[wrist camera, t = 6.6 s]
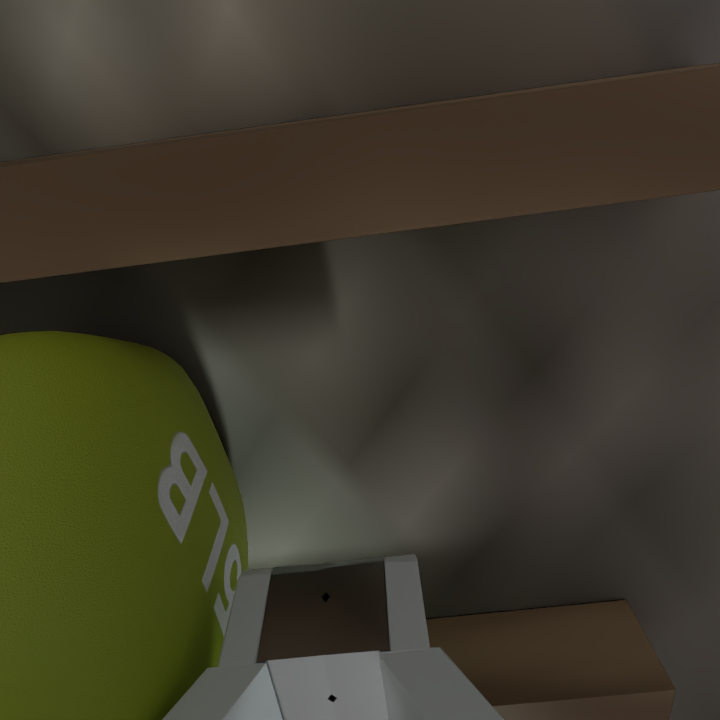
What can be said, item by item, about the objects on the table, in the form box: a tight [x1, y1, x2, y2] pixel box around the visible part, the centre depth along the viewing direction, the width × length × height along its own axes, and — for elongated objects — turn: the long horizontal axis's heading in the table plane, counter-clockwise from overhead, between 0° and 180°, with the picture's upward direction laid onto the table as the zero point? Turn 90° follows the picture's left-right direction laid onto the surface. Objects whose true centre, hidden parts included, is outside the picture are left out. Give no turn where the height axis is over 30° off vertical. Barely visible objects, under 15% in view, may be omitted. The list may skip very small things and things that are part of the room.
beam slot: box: [0, 63, 720, 720], centre depth 11 cm, size 14×26×2 cm, turn 97°
